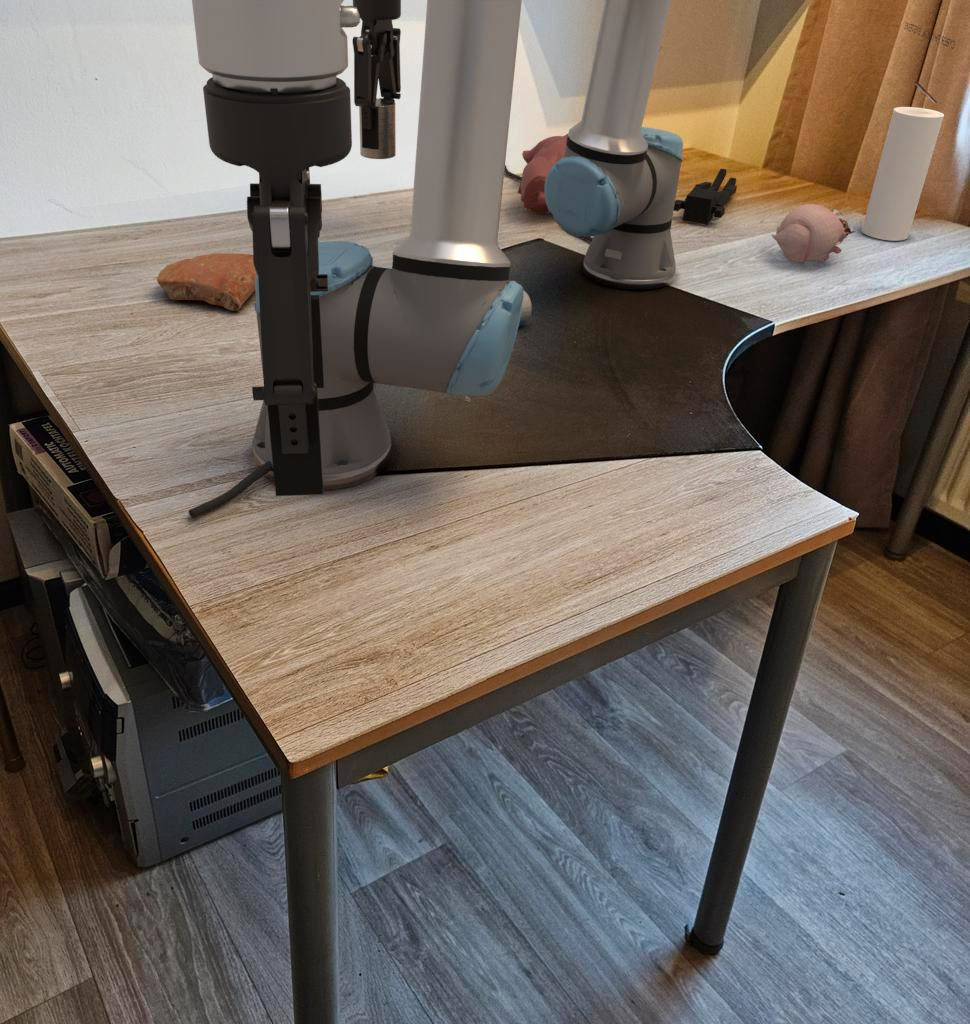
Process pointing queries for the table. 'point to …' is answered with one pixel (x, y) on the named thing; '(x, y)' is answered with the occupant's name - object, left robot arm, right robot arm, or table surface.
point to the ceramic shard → (211, 279)
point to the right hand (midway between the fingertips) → (378, 143)
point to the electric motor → (525, 309)
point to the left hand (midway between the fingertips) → (302, 434)
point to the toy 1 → (707, 200)
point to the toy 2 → (811, 233)
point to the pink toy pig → (540, 171)
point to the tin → (382, 131)
